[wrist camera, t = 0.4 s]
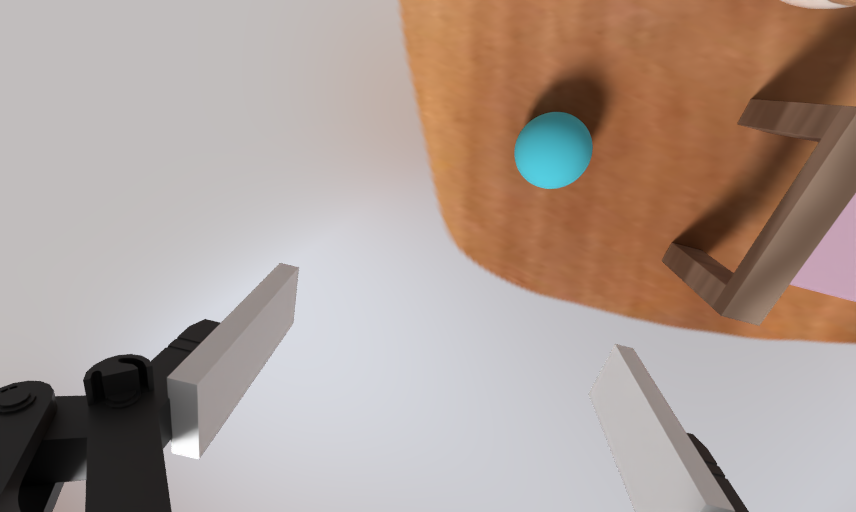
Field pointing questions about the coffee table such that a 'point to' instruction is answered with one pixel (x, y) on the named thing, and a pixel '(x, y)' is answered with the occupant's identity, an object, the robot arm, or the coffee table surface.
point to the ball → (553, 150)
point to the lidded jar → (821, 3)
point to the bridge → (781, 212)
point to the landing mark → (833, 259)
